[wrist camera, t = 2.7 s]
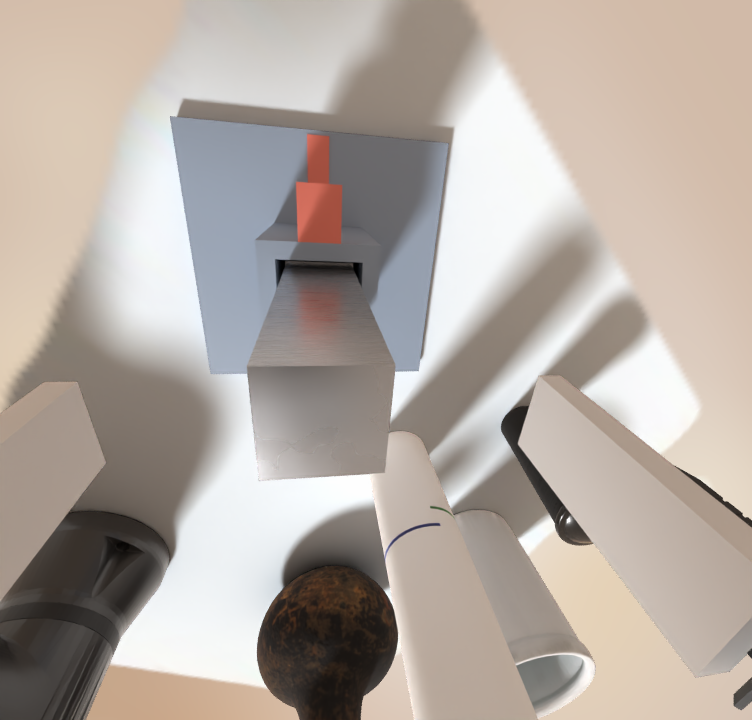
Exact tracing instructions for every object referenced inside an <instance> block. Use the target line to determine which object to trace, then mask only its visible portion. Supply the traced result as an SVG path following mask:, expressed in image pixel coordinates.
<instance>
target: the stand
mask: <svg viewBox="0 0 752 720" xmlns="http://www.w3.org/2000/svg"><path fill="white" fill-rule="evenodd" d="M170 121H171V127H172V133H173V139H174V146H175V152H176V158H177V165H178V171H179V177H180V183H181V190H182V196H183V202H184V209H185V215H186V221H187V227H188V234H189V240H190V246H191V253H192V259H193V265H194V271H195V278H196V284H197V290H198V297H199V303H200V309H201V315H202V322H203V328H204V334H205V341H206V347H207V353H208V359H209V366H210V372H211V374H247V364H248V362H249V359H250V357H251V354H252V351H253V349H254V346H255V344H256V341H257V338H258V336H259V333H260V331H261V328H262V326H263V323H264V320H265V318H266V315H267V313H268V310H269V307H270V305H271V302H272V300H273V297H274V294H275V292H276V289H277V287H278V284H279V281H280V279H281V276H282V274H283V271H284V268H285V260H306V261H333V262H353V270H354V272H355V274H356V276H357V279H358V281H359V283H360V285H361V288H362V290H363V292H364V294H365V297H366V299H367V301H368V304H369V306H370V308H371V310H372V313H373V315H374V317H375V319H376V322H377V324H378V326H379V329H380V331H381V333H382V335H383V338H384V340H385V342H386V344H387V347H388V349H389V351H390V353H391V356H392V358H393V360H394V363H395V365H396V366H395V371H419V364H420V357H421V349H422V342H423V334H424V326H425V319H426V311H427V304H428V296H429V289H430V281H431V274H432V266H433V258H434V251H435V243H436V236H437V228H438V221H439V213H440V205H441V198H442V190H443V183H444V175H445V168H446V160H447V152H448V145H449V143H442V142H431V141H421V140H411V139H400V138H390V137H380V136H369V135H359V134H349V133H338V132H328V131H318V130H307V129H297V128H287V127H276V126H266V125H256V124H245V123H235V122H225V121H214V120H204V119H194V118H183V117H173V116H170Z"/></svg>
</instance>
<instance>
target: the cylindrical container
mask: <svg viewBox="0 0 752 720" xmlns="http://www.w3.org/2000/svg"><path fill="white" fill-rule="evenodd" d="M369 475H370V481H371V486H372V492H373V497H374V503H375V508H376V514H377V519H378V525H379V530H380V535H381V541H382V546H383V552H384V557H385V562H386V568H387V574H388V579H389V585H390V590H391V596H392V601H393V607H394V612H395V617H396V623H397V628H398V634H399V639H400V645H401V650H402V656H403V661H404V667H405V672H406V678H407V683H408V689H409V694H410V700H411V705H412V711H413V716H414V720H538V718H537V715H536V713H535V710H534V708H533V706H532V703H531V701H530V698H529V696H528V694H527V691H526V689H525V686H524V684H523V681H522V679H521V677H520V674H519V672H518V669H517V667H516V665H515V662H514V660H513V657H512V655H511V653H510V650H509V648H508V645H507V643H506V641H505V638H504V636H503V633H502V631H501V628H500V626H499V624H498V621H497V619H496V616H495V614H494V612H493V609H492V607H491V604H490V602H489V600H488V597H487V595H486V592H485V590H484V588H483V585H482V583H481V580H480V578H479V575H478V573H477V571H476V568H475V566H474V563H473V561H472V559H471V556H470V554H469V551H468V549H467V547H466V544H465V542H464V539H463V537H462V535H461V532H460V530H459V528H458V525H457V523H456V520H455V518H454V516H453V513H452V511H451V508H450V506H449V504H448V501H447V499H446V496H445V494H444V491H443V489H442V487H441V484H440V482H439V479H438V477H437V475H436V472H435V470H434V467H433V465H432V462H431V460H430V458H429V455H428V453H427V450H426V448H425V446H424V443H423V441H422V440H421V439H420V438H419V437H418V436H417V435H415V434H413V433H410V432H406V431H394V432H390V433H389V437H388V447H387V457H386V467H385V473H377V474H369Z"/></svg>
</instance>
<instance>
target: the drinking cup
mask: <svg viewBox="0 0 752 720" xmlns="http://www.w3.org/2000/svg"><path fill="white" fill-rule="evenodd" d="M528 409H529V407H526V406H524V407H519V408H516V409H514V410H512V411H511V412H509V413H508V414H507V415H506V416H505V418H504V419H503V421H502V424H501V431H502V433H503V435H504V437H505V438H506V440H507V442H508V443H509V445H510V447H511V449H512V450H513V452H514V454H515V455H516V457H517V459H518V461H519V462H520V464H521V466H522V467H523V469H524V471H525V473H526V474H527V476H528V478H529V480H530V481H531V483H532V485H533V486H534V488H535V490H536V492H537V493H538V495H539V497H540V498H541V500H542V502H543V504H544V505H545V507H546V509H547V510H548V512H549V514H550V516H551V517H552V519H553V521H554V523H555V528H556V532H557V533H558V535H559V536H560V538H561V539H562V540H563V541H565V542H567V543H569V544H572V545H590V544H593V542H592V541H591V540H590V538H589V537H588V536H587V534H586V533H585V532H584V530H583V529H582V528H581V527H580V525H579V524H578V523H577V521H576V520H575V519H574V517H573V516H572V515H571V513H570V512H569V511H568V509H567V508H566V507H565V505H564V504H563V503H562V502H561V500H560V499H559V498H558V496H557V495H556V494H555V492H554V491H553V490H552V488H551V487H550V486H549V484H548V483H547V482H546V480H545V479H544V478H543V477H542V475H541V474H540V473H539V471H538V470H537V469H536V467H535V466H534V465H533V463H532V462H531V461H530V459H529V458H528V457H527V455H526V454H525V453H524V452H523V450H522V449H521V448H520V446H519V445H518V441H519V438H520V435H521V432H522V428H523V425H524V422H525V419H526V415H527V412H528Z"/></svg>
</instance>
